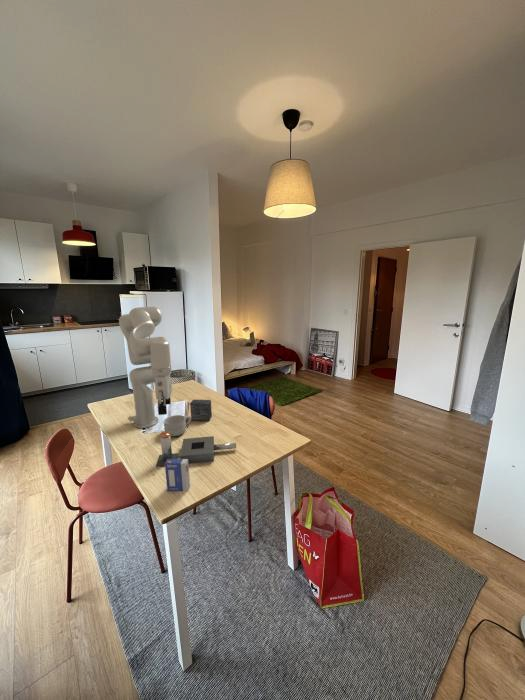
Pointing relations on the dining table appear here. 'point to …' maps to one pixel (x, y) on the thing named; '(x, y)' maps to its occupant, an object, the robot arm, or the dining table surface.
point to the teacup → (176, 424)
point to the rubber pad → (161, 462)
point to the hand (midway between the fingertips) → (164, 409)
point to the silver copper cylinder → (166, 446)
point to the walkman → (177, 474)
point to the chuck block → (201, 449)
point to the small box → (201, 410)
